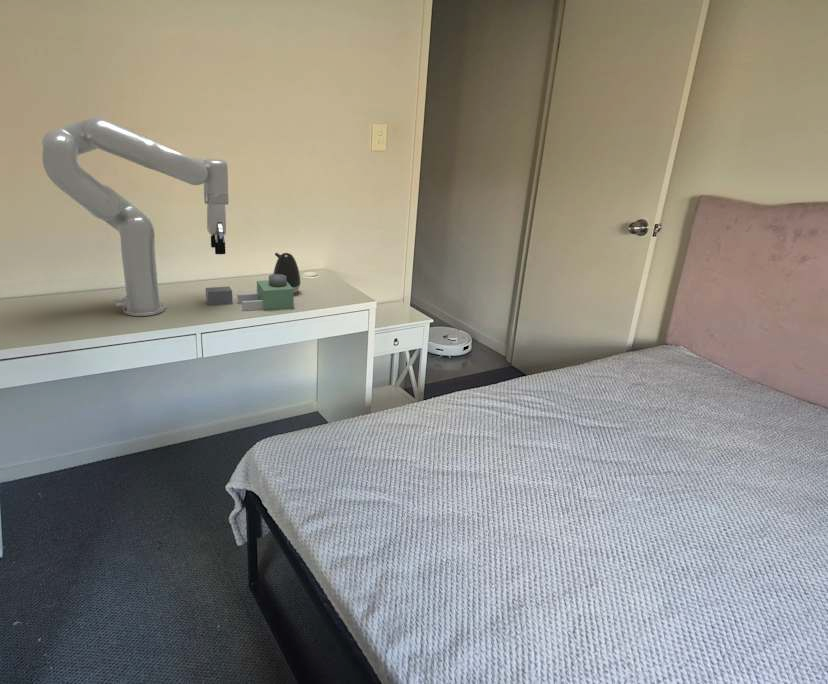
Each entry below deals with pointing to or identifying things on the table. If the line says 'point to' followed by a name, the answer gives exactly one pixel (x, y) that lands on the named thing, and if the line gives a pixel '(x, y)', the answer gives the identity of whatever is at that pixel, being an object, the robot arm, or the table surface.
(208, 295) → the dark gray block
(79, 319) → the table surface
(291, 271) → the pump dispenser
